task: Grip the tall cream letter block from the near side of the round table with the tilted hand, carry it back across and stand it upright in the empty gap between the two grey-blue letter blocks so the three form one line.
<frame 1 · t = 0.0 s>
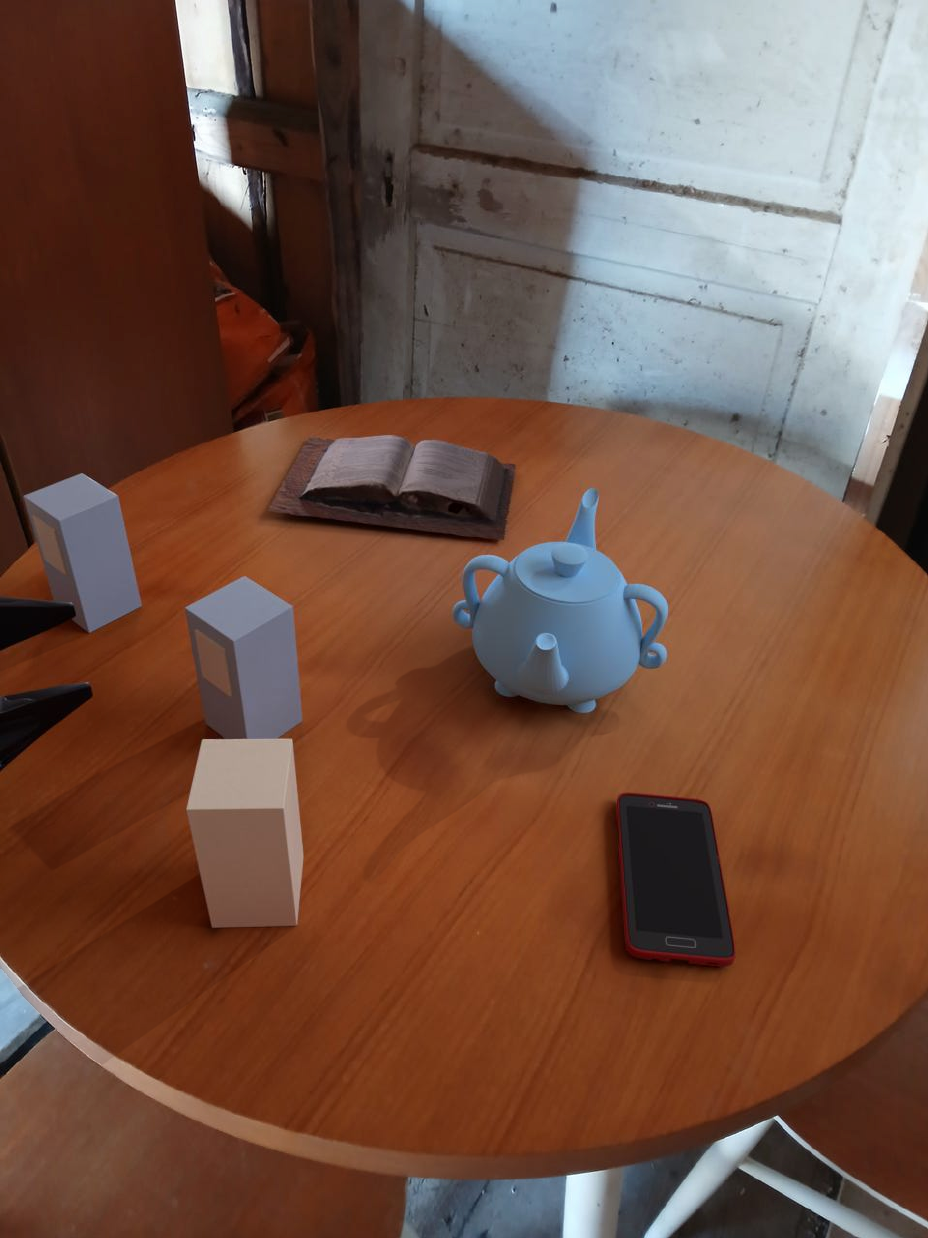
hand: (82, 647, 63), 16 cm above the table, tool horizontal, fingers open, 9 cm apart
book: (399, 490, 113), on the table
block left: (99, 606, 92), on the table
cell phone: (669, 878, 69), on the table
block right: (254, 722, 80), on the table
letter block: (259, 891, 67), on the table
teapot: (550, 674, 87), on the table
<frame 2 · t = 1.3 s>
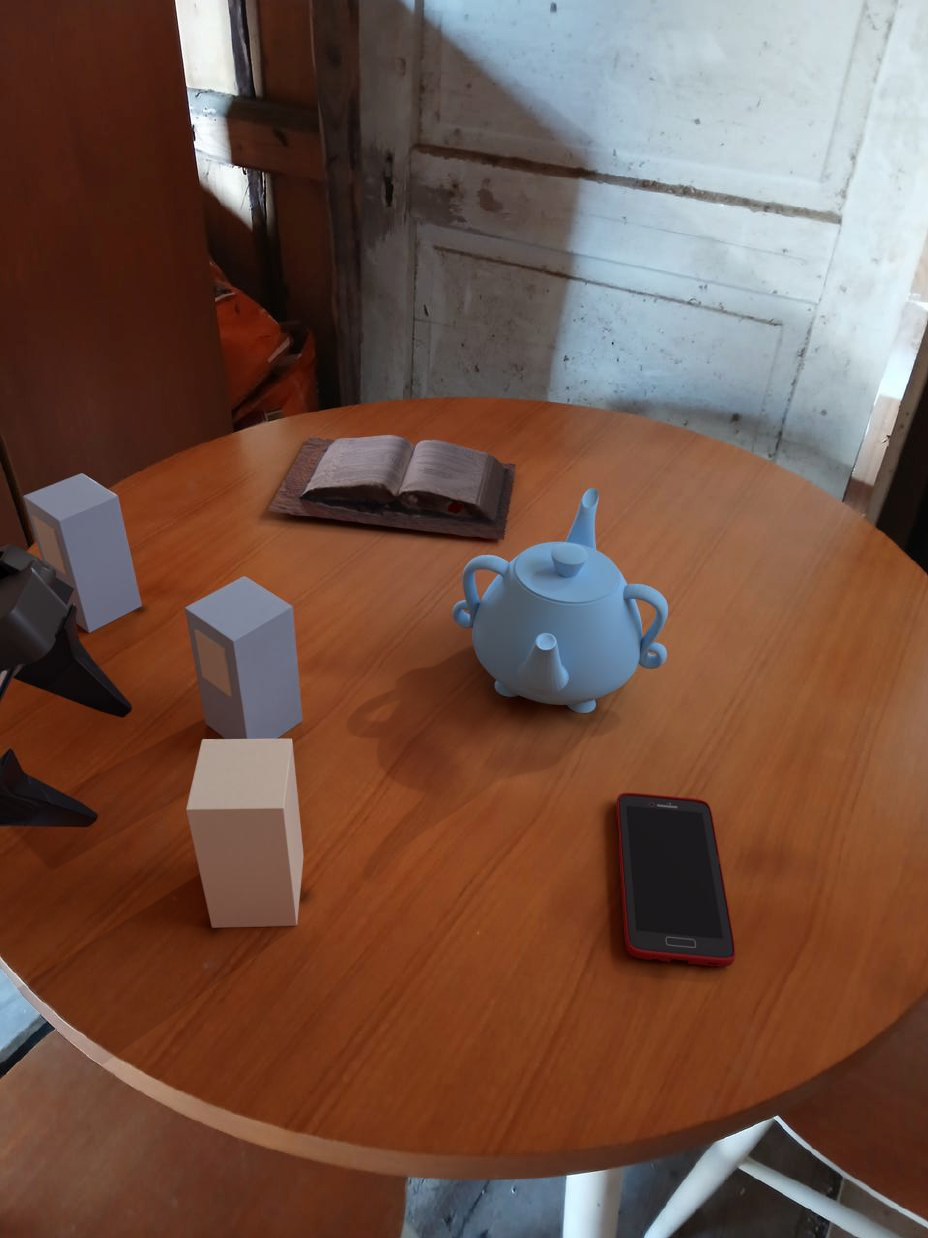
hand: (112, 763, 58), 14 cm above the table, tool tilted 45°, fingers open, 9 cm apart
nothing on the table moved.
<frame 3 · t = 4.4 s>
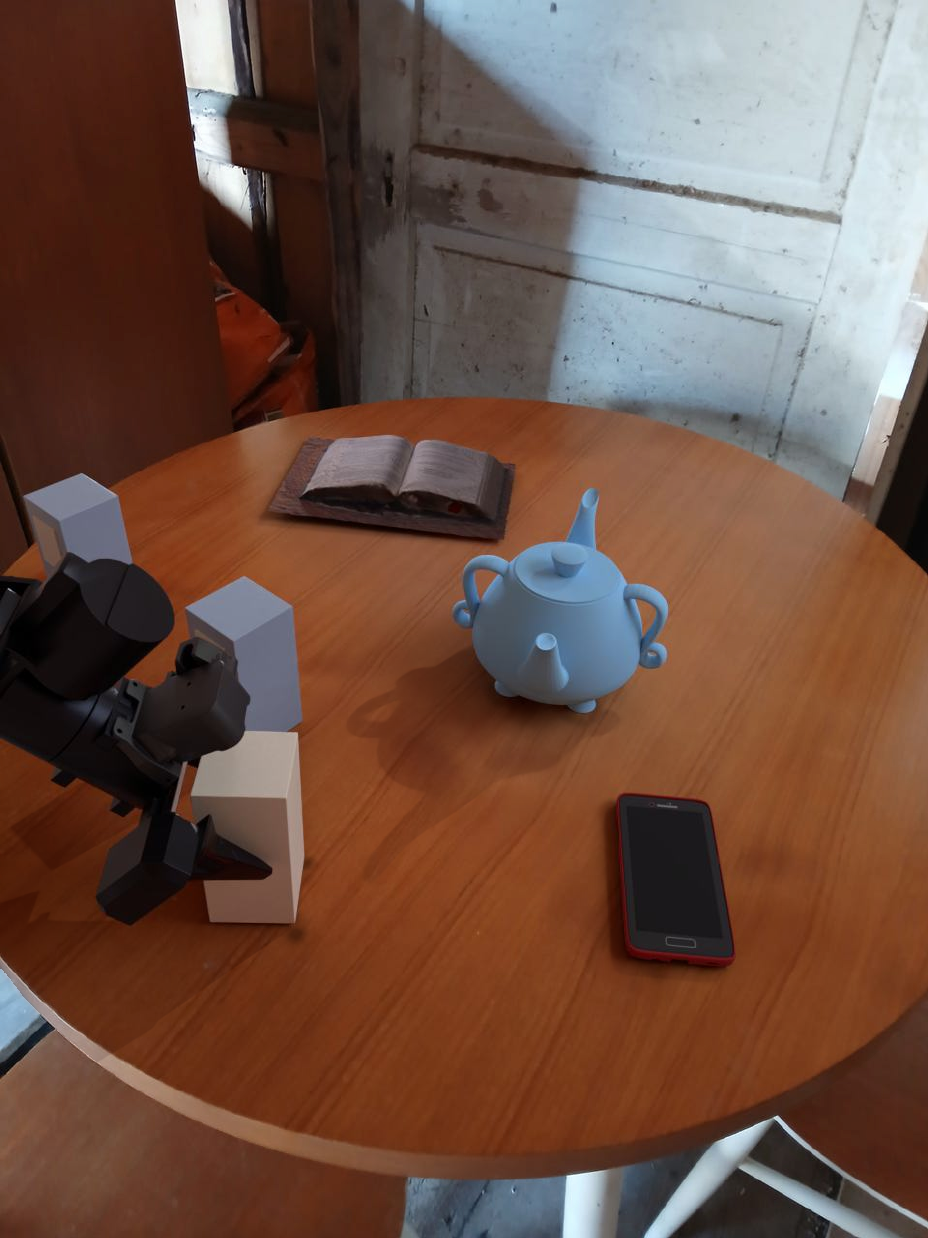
hand: (274, 830, 62), 7 cm above the table, tool tilted 45°, fingers closed on letter block, 7 cm apart
letter block: (258, 888, 67), on the table, touching gripper
everything else where it was.
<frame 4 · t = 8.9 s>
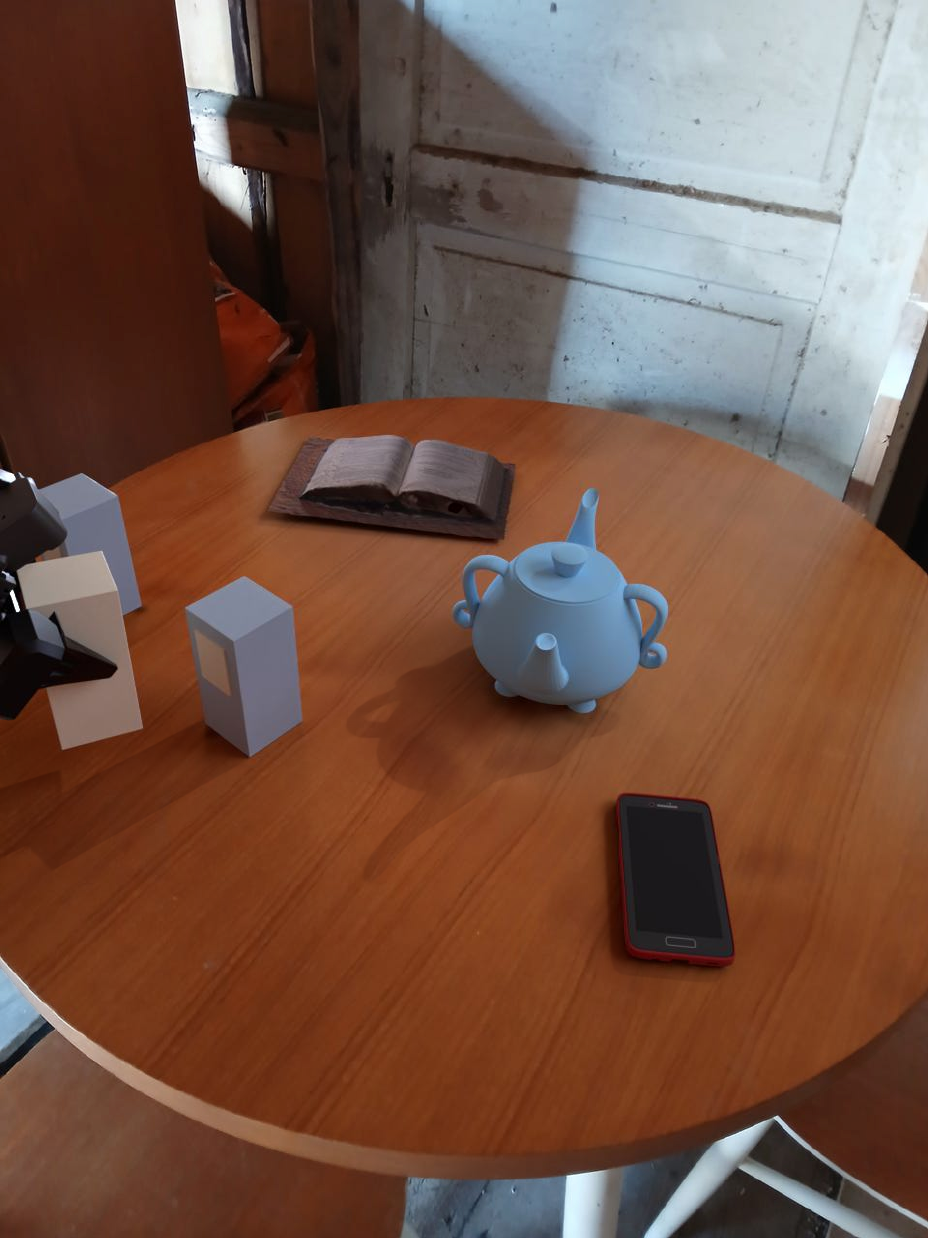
hand: (102, 644, 68), 12 cm above the table, tool tilted 45°, fingers closed on letter block, 7 cm apart
letter block: (96, 716, 72), point 6 cm above the table, touching gripper
everything else where it was.
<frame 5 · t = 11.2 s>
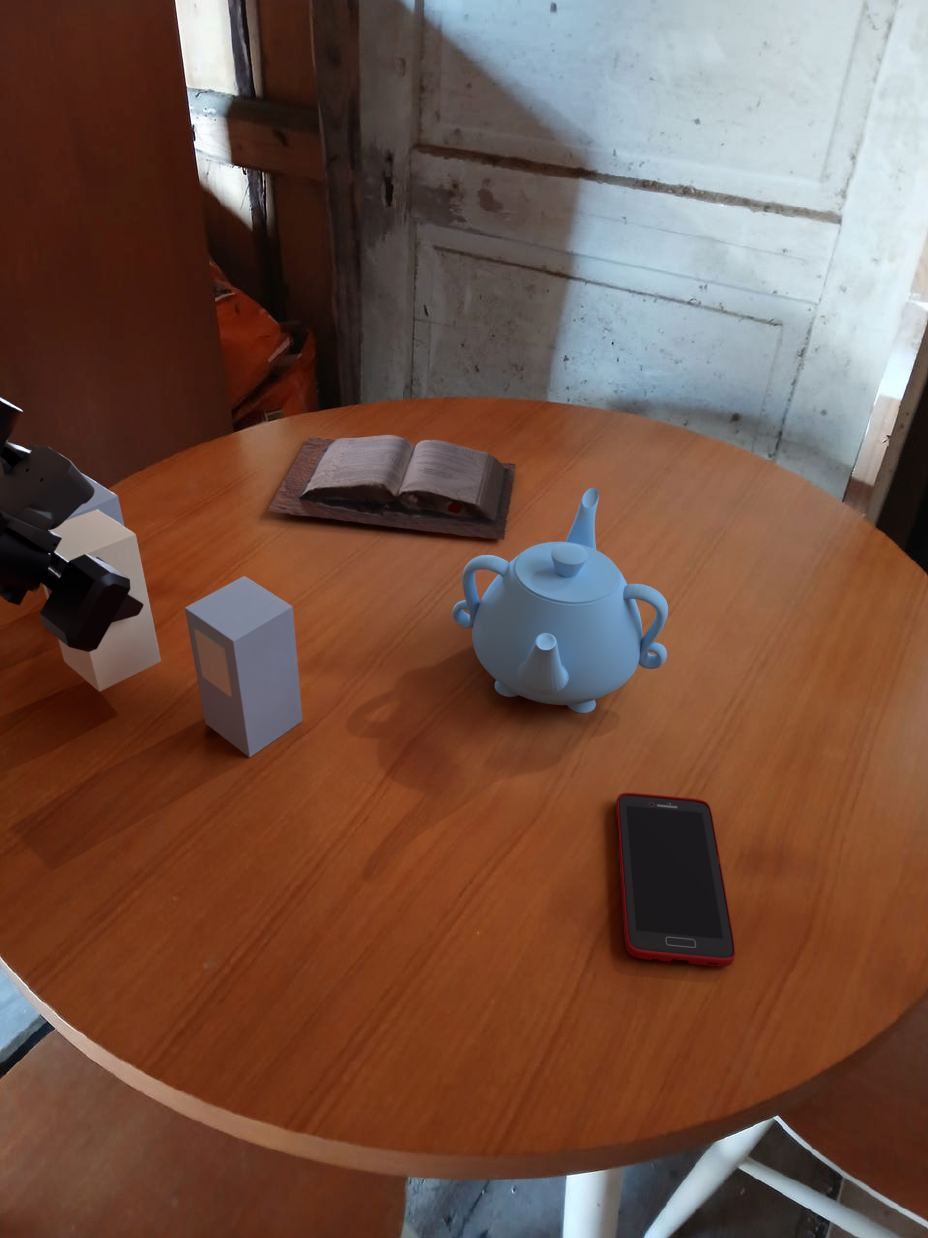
hand: (115, 591, 77), 10 cm above the table, tool tilted 45°, fingers closed on letter block, 7 cm apart
letter block: (113, 661, 80), point 3 cm above the table, touching gripper
everything else where it was.
when the fingers open (7 cm above the table, at t = 13.4 s): letter block stays where it is, on the table.
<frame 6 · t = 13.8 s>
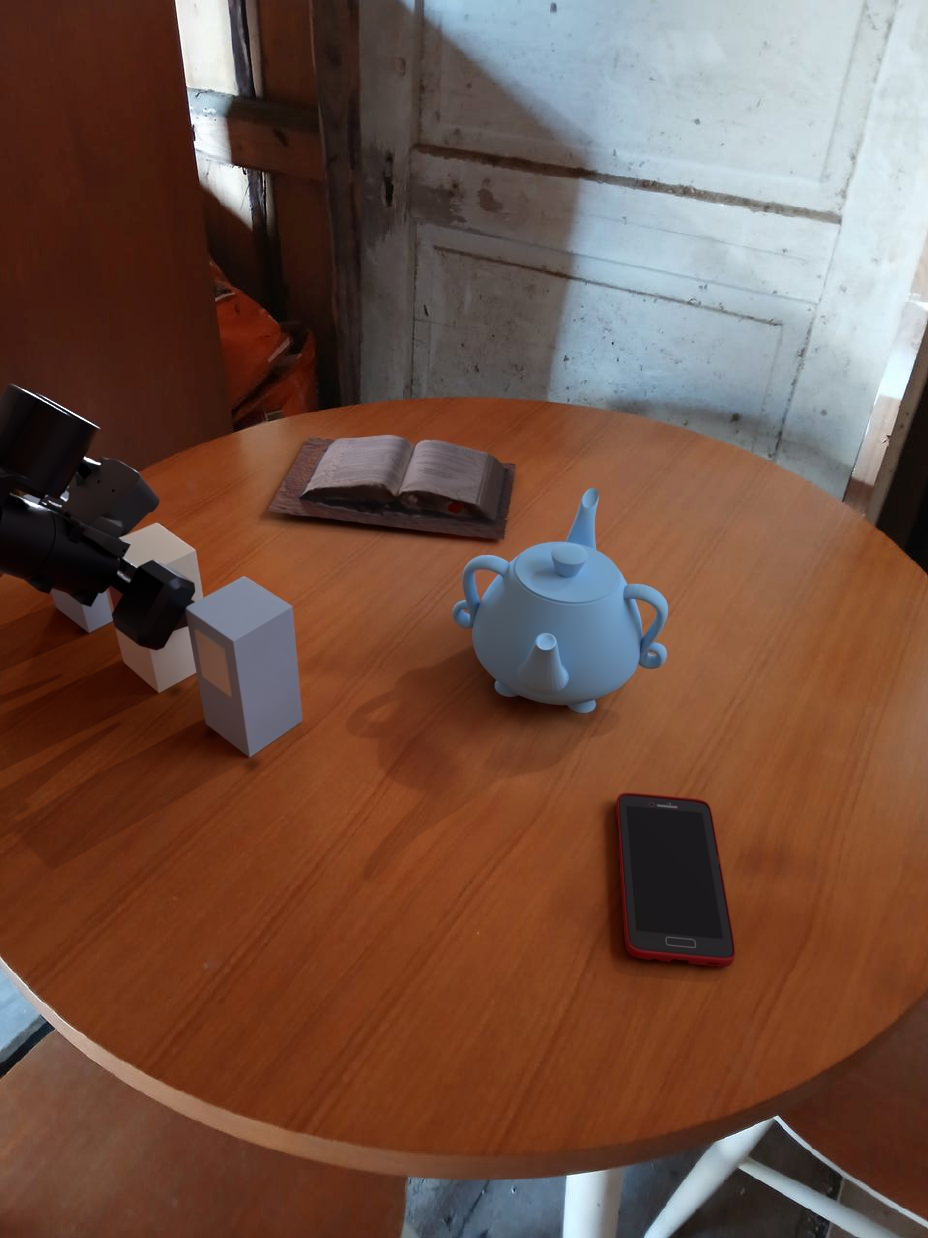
hand: (172, 593, 82), 7 cm above the table, tool tilted 45°, fingers open, 9 cm apart
letter block: (168, 662, 86), on the table
everything else where it was.
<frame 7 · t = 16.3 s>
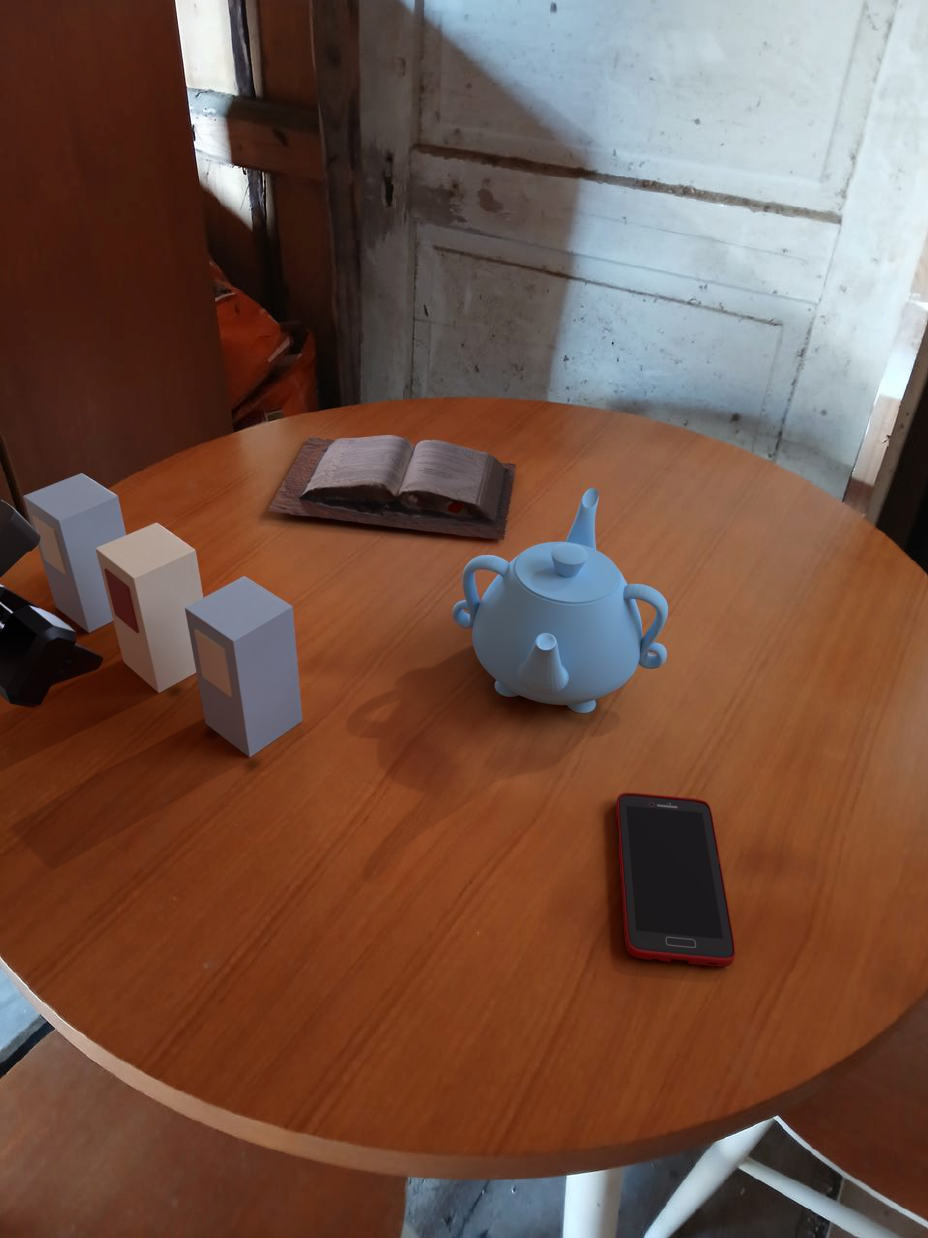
hand: (67, 637, 74), 9 cm above the table, tool tilted 45°, fingers open, 9 cm apart
nothing on the table moved.
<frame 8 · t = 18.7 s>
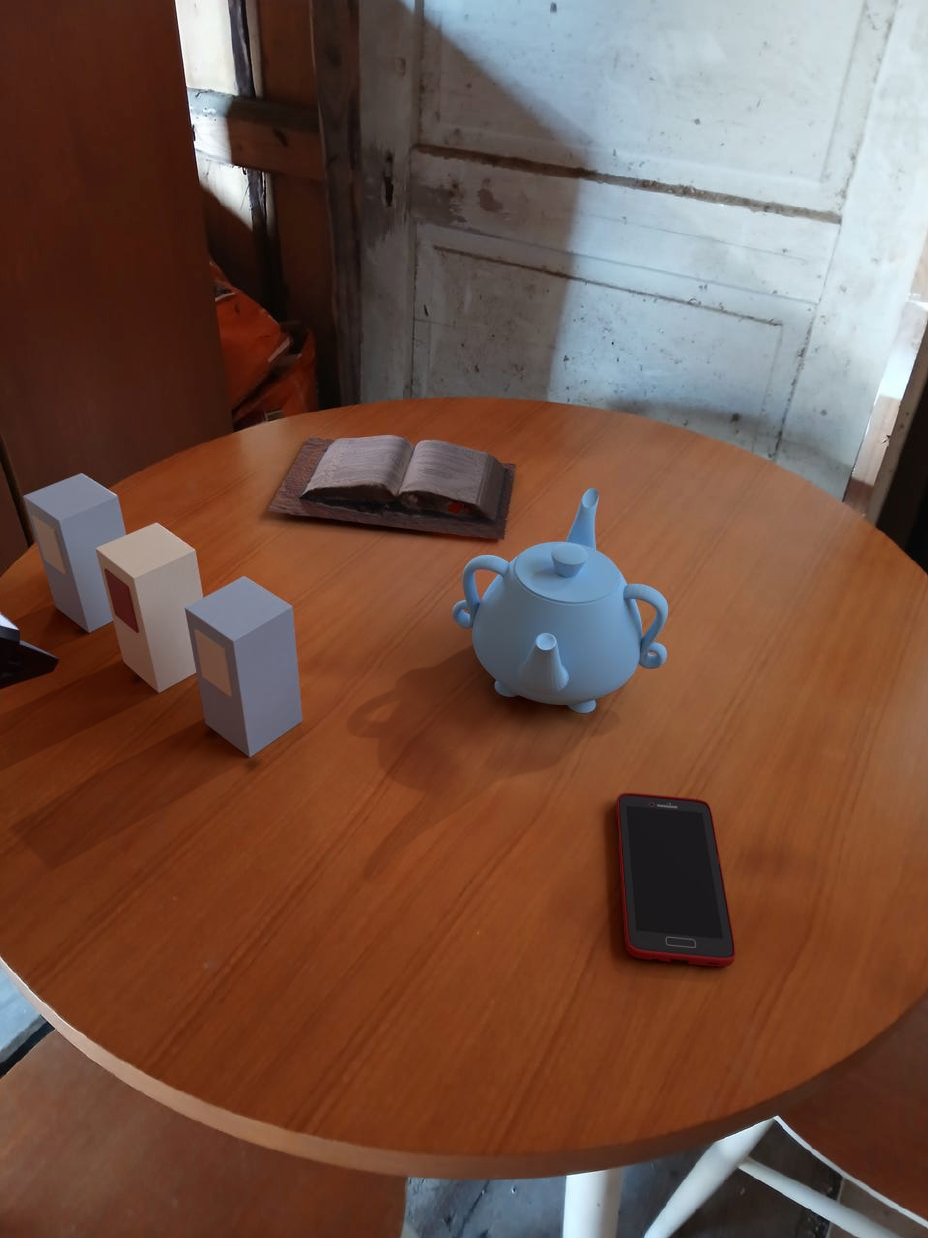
hand: (21, 636, 67), 14 cm above the table, tool tilted 45°, fingers open, 9 cm apart
nothing on the table moved.
at the end: letter block 0.4 cm from the target spot on the table beside the block left, on the table; letter block tilted 0°; block right moved 0.0 cm from its start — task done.
